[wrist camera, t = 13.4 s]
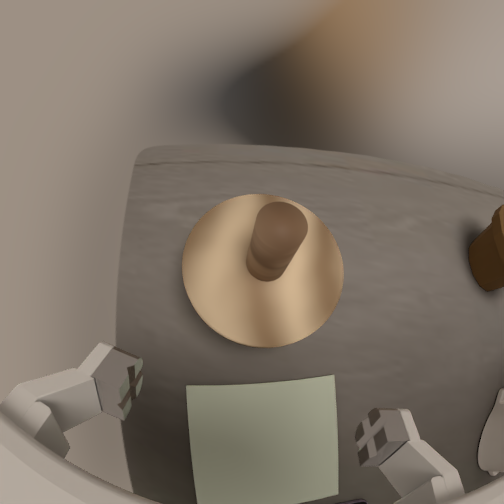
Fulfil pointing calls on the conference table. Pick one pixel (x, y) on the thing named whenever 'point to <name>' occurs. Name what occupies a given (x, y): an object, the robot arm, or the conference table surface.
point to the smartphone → (355, 502)
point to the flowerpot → (489, 254)
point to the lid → (262, 270)
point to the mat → (264, 441)
